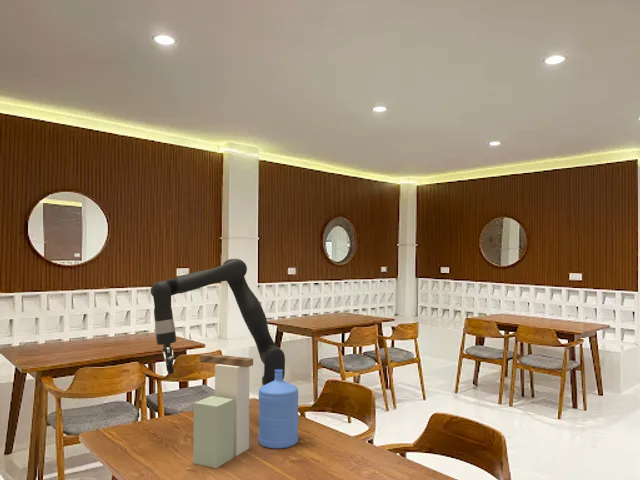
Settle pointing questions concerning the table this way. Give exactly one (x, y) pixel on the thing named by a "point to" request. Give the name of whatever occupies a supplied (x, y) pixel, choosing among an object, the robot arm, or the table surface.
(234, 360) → the walnut plank
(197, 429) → the sage step
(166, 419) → the table surface
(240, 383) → the off-white stand
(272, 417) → the water jug
